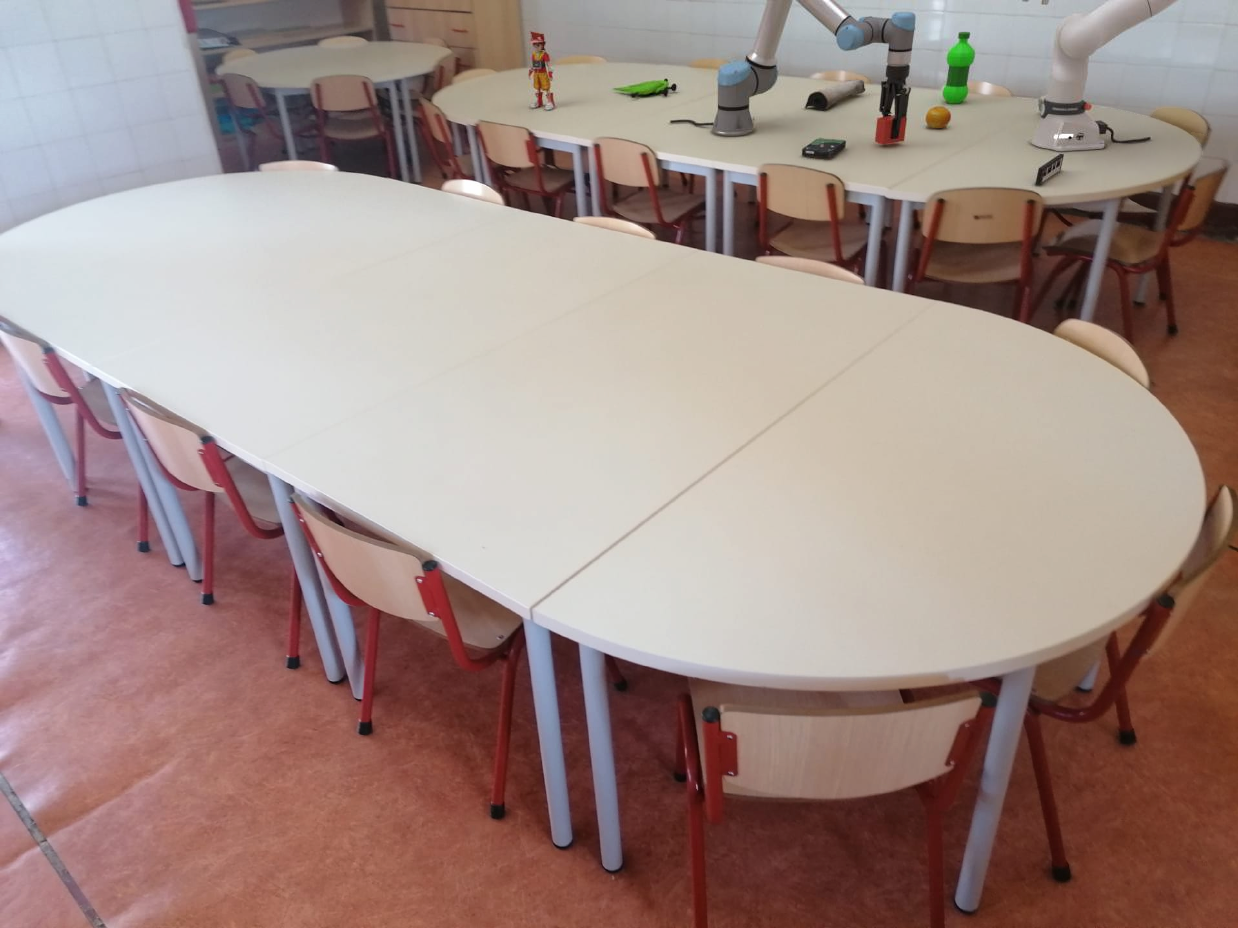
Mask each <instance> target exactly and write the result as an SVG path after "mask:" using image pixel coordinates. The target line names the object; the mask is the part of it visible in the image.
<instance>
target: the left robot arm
mask: <svg viewBox="0 0 1238 928" xmlns="http://www.w3.org/2000/svg"><path fill="white" fill-rule="evenodd" d="M793 1H794V0H766V4H765V7H764V10H763V13H762V16H761V20H760V23H759V25H758V29H757V33H756V36H755V40H754V43H753V46H752V49H751V50H749V51H747V53H746V56H745V58H744V60H736V61H732V62H727V63H724V64H722V65H721V66H720V67H719V68H718V70H717V71H718V73H717V74H718V75H717V111H716V114H715V118H714V120H713V122H696V121H695V120H692V119H674V120H673V119H672V120H671V119H670V120H669V123H670V124H675V123H677V124H678V123H691V124H693V125H694V126H698V127H703V126H704V127H705V126H706V127H707V126H710V127H711V126H712V133H713V134H715V135H717V136H721V137H741V136H746V135H750V134H752V133H754V121H755V117H752V115H751V111H750V98H751V97H755V96H757V95H762V94H765V93H766V92H768V91H770V90H771V89H773V87H774V86H775V85H776V83H777V81H778V77H779V70H778V65H777V64H778V59H777V58H776V54H777V52H778V48H779V45H780V41H781V39H782V35H783V32H784V28H785V25H786V22H787V19H788V16H789V13H790V10H791V8H792V4H793ZM795 1H796V2H797V3H798V4H799V5H800V6H801V7H803V8H804V9H805V10H806V11H807V12H808V13H809V14H811V16H813V17H814V18H815V19H816V20H817V21H818V22H819V23H820V24H822V26H824V27H825V28H826V29H827V30H828V31H829V32H830V33H831V34H832V35H833V36H834V37H836V40H835V41H836V43H837V46H838V48H839V49H840V50H842V51H844V52H850V51H855V50H857V49H860V48H863V47H865V46H866V47H867V46H869V45H872V44H885V45H888V49H887V56H886V64H887V65H886V67H885V78H886V80H882V81H881V82H880V86H881V87H880V89H881V90H880V98H879V99H880V100H879V107H878V109H879V110H878V112H879V113H881V114H882V117H887V116H892V107H893V105H894V115H895V118H893V123H892V131H891V139H896V138H899V130H900V127H901V120H902V118H906V117H908V116H907V115H908V108H909V99H910V94H911V91H912V87H910V86H909V87H908V86H907V81H906V79H907V78H909V76H910V70H911V65H910V64H911V60H912V52H913V44H914V37H915V30H916V18H917V17H916V14H915V13H914V12H913V11H896V12H894V13H892V15H891V17H890V18H888V17H877V16H871V15H870V16H862V17H860V18H859V19H858V20H857V19H856V18H854V16H853V15H851V14H850V13H849V12H848V11H847V10H846V9H845V8H844V7H842V5H840V3H838V2H837V1H836V0H795Z"/></svg>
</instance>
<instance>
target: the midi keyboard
mask: <svg viewBox="0 0 1238 928" xmlns="http://www.w3.org/2000/svg"><path fill="white" fill-rule="evenodd" d="M1064 157H1065V153H1059V154H1058V155H1056V156H1055V157H1052V159H1051V160H1049V161H1047V162H1045V164H1042V165H1041V166H1039V167H1038V169H1037V175H1036V179H1035V186H1040V185H1042V183H1044V182H1045V181H1047V180H1048V179H1049V178H1051V177H1052V176H1054V175H1055V174H1056V173H1058V172H1060V171H1061V170H1062V165H1063V161H1064Z"/></svg>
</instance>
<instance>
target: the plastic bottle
mask: <svg viewBox="0 0 1238 928" xmlns="http://www.w3.org/2000/svg"><path fill="white" fill-rule="evenodd" d="M970 36H971V32H970V31H959V32H958V36H957V39H958V42H957V43H956V44H954V45H953V46H952V47H951V48H950V49H949V50H948V52H947V54H946V63H947V64H948V69H947V70H948V71H947V76H946V77H947V78H946V84H945V85H944V87H943V90H942V97H943V99H944V100H945V101H946V102H947V103H948V104H960V103H961V102H963V101H964V100H966V98H967V96H968V95H969V85H968V79H969V73H970V67H971V65H972V64H973V63H974V61H975V57H976V51H975V49H974V47H972V45H971V44H970V43H969V42H968V41H969V39H970V38H971V37H970Z"/></svg>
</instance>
